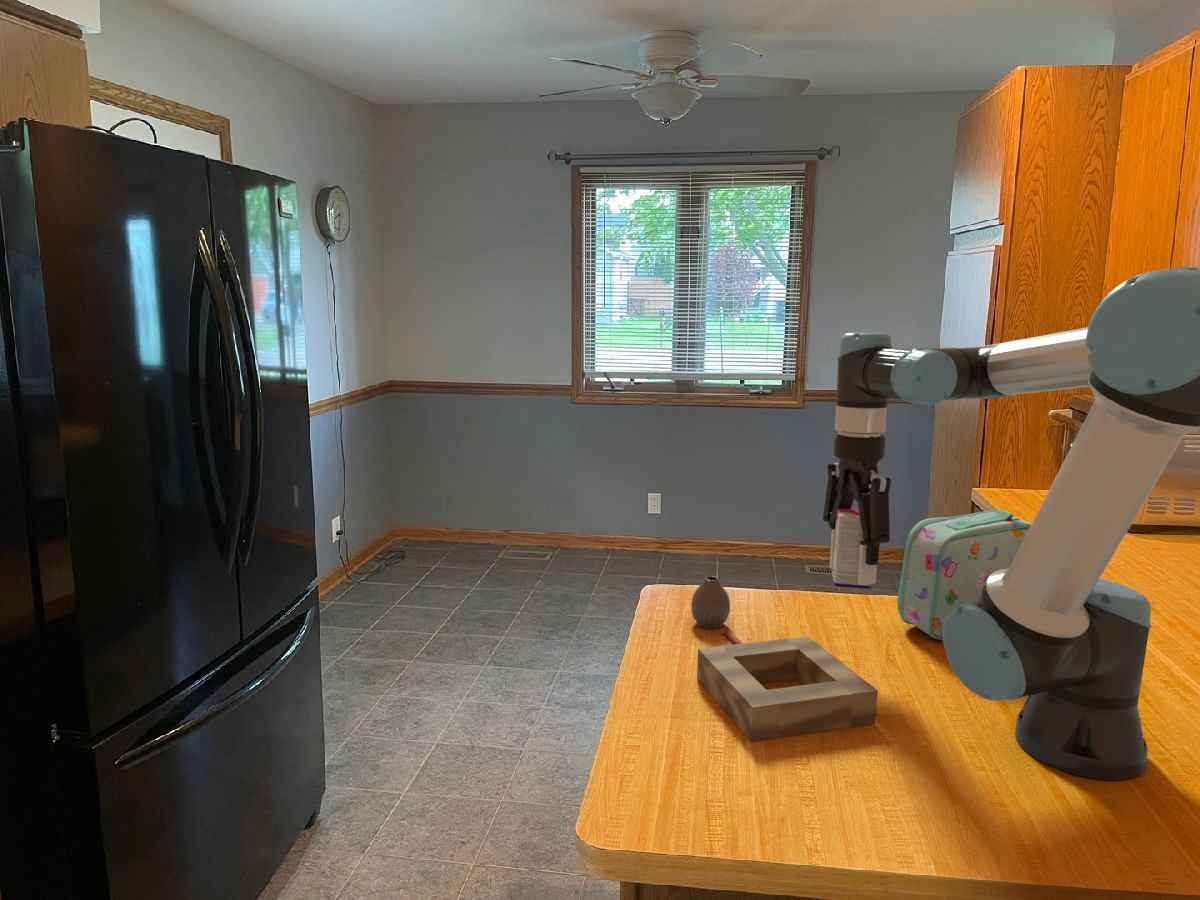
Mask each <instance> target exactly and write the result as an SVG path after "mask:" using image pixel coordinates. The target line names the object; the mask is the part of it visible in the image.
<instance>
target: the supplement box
mask: <svg viewBox="0 0 1200 900" xmlns="http://www.w3.org/2000/svg"><path fill="white" fill-rule="evenodd" d="M870 536H871V535H870ZM860 541H864V538H863V532H862V526H861V520H860V514H859V509H852V508H851V509H837V513H836V526H835V540H834V553H833V567H832V569H831V571H832V572H831V578H832V583H833V586H834V587H835V588H848V589H862V590H872V586H873V584H866V585H860V584H858V570H859V553H860Z"/></svg>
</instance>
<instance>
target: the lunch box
mask: <svg viewBox="0 0 1200 900" xmlns="http://www.w3.org/2000/svg"><path fill="white" fill-rule="evenodd" d="M1031 524H1032V522H1030V521H1027V520H1024V519H1020V518H1018V517H1016V516H1014V513H1011V512H1009V511H1006V510H1004V509H999V510H998V509H996V510H995V509H994V510H990V509H989V510H984V511H983V510H982V511H979V512H974V513H970V514H969V513H968V514H963V515H961V514H960V515H955V516H953V515H952V516H945V517H943V516H942V517H930V518H929V517H927V518H925V519H923V520H920V521H919V522H917V523H915V525H914V526H913V527H911V529H910V531H909V533H908V534H907V537H906V539H905V543H904V553H903V554H904V555H903V560H902V569H901V573H900V581H899V587H898V593H897V611H898V615H899V617H900V618H901V621H902V622H903V623H905V624H907V625H913V626H914V627H916V628H918V630H919V629H920V630H921V631H922V632H924V633H925V634H927V635H928V636H929V637H931V638H933V639H934V640H940V641H943V627H944V622H945V619H946V617H947V615H948V614H949V613H950V612H951V611H952V610H953V609H954V608H956V607H959V606H960V605H962V604H967V603H968V604H973V603H974V602H975V601H976V600H977V599H978V597H979V595H980V593H981V591H982V589H983V587H984V585H985V583H986V581H987V579H988V578H989V576H990V575H991V574H992V573H993V572H995V571H997V570H1001V569H1008V568H1009V567H1010V565H1011V563H1012V561H1013V559H1014V557H1015V555H1016V554H1017V552H1018V550H1019V548H1020V546H1021V544H1022V542H1023V540H1024V538H1025V536H1026V534H1027V532H1028V530H1029V528H1030V526H1031Z"/></svg>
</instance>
